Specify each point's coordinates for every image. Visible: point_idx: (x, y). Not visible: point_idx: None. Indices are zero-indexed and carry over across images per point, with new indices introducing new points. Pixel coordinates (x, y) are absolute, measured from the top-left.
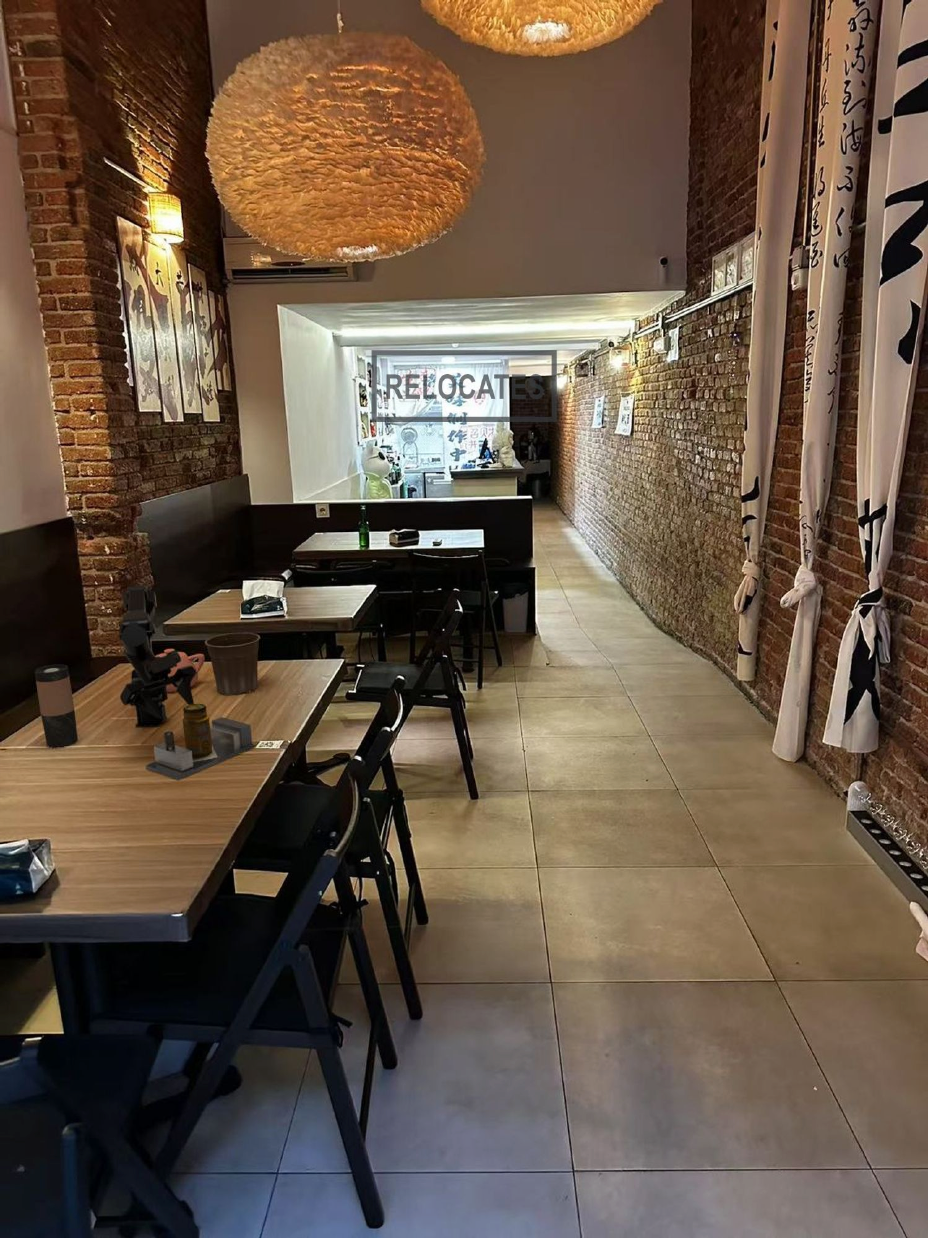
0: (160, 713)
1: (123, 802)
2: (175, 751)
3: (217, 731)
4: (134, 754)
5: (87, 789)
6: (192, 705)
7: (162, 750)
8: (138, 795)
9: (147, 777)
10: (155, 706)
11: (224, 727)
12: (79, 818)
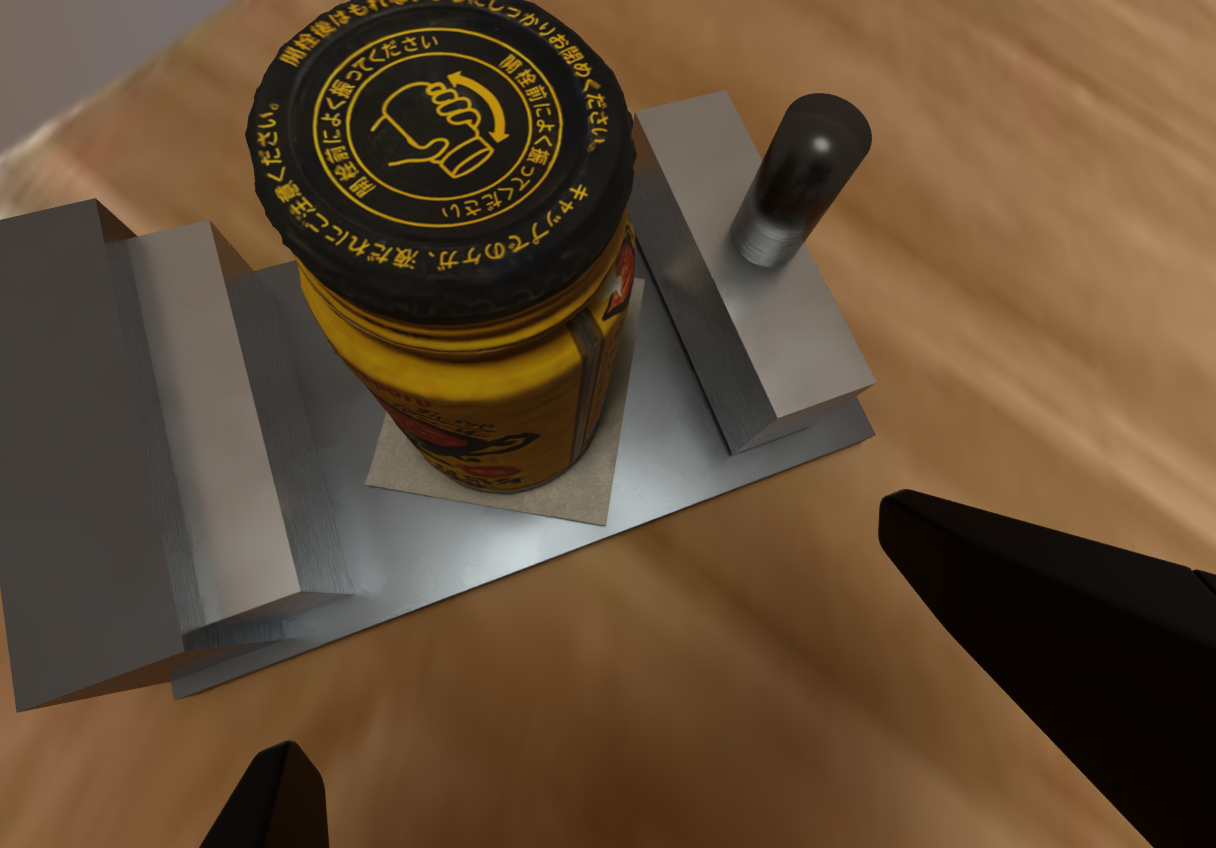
0: (918, 508)
1: (999, 108)
2: (742, 170)
3: (265, 428)
4: (910, 816)
5: (1179, 370)
6: (443, 210)
7: (818, 281)
8: (931, 132)
9: (867, 315)
10: (1076, 572)
11: (165, 443)
12: (1174, 84)
